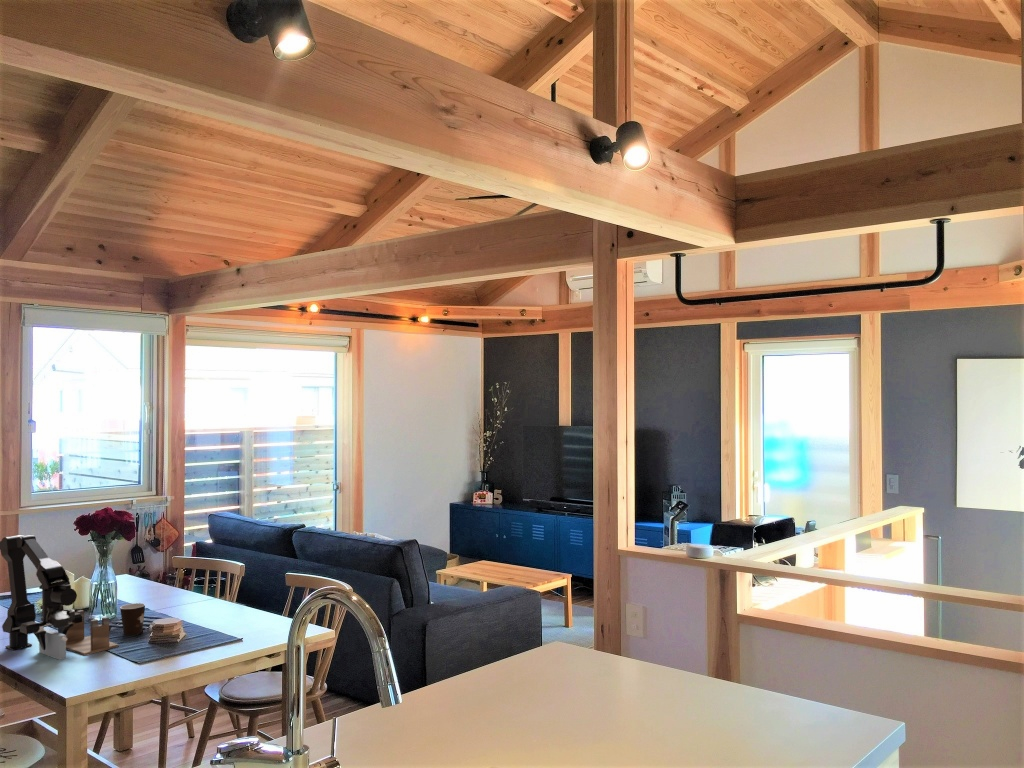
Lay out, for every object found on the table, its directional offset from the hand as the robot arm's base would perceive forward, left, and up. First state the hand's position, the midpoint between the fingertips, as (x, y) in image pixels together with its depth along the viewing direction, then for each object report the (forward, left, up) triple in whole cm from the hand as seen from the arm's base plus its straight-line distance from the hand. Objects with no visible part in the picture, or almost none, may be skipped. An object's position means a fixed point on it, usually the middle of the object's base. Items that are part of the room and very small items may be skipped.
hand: (52, 647), depth 287 cm
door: (0, 0, -3) cm, 3 cm away
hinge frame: (0, +12, -2) cm, 12 cm away
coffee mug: (-3, +32, -3) cm, 32 cm away
